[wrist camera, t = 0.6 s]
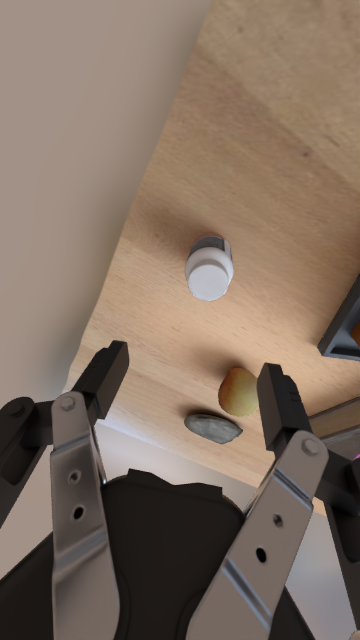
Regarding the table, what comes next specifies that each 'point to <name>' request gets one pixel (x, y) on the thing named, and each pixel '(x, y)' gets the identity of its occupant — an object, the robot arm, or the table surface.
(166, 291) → the table surface
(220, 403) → the fruit
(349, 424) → the book
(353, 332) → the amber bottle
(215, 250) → the pill bottle
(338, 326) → the tray
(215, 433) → the stone
